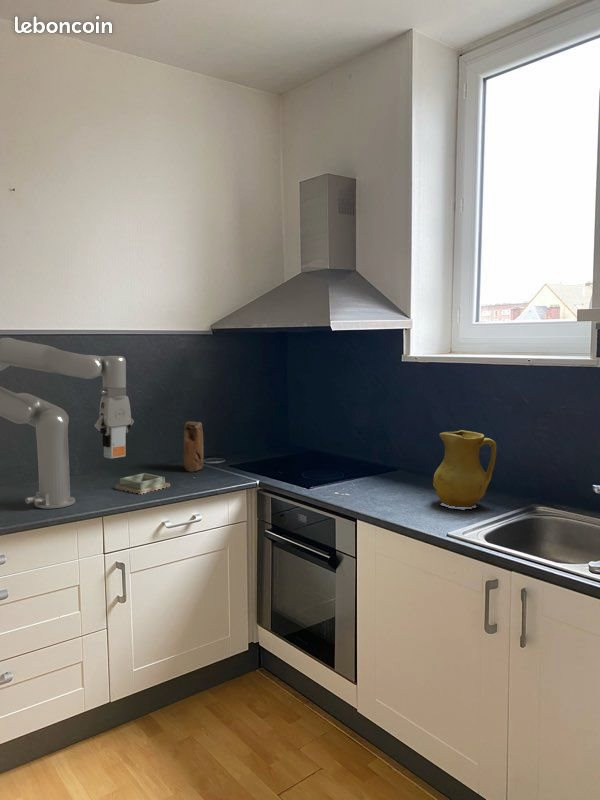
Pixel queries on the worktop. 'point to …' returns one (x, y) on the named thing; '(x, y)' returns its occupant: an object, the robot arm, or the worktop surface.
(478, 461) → the pitcher
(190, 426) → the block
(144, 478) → the socket stand
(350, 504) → the worktop surface
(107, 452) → the skincare box
